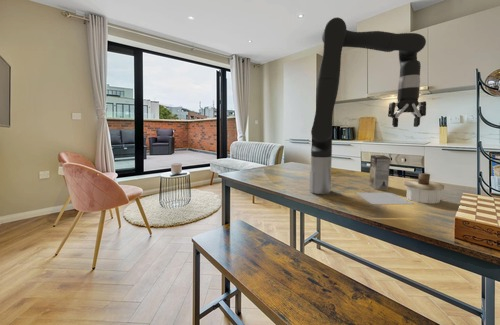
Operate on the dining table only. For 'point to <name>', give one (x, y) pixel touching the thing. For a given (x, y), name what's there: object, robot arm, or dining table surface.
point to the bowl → (423, 195)
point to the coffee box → (379, 172)
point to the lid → (424, 183)
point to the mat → (383, 198)
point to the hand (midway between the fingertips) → (405, 126)
